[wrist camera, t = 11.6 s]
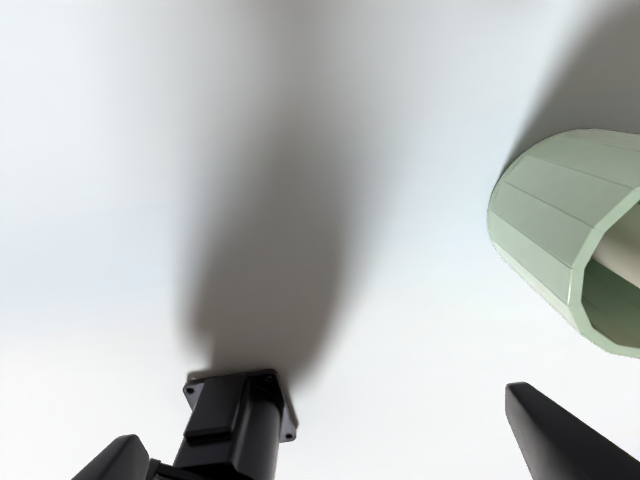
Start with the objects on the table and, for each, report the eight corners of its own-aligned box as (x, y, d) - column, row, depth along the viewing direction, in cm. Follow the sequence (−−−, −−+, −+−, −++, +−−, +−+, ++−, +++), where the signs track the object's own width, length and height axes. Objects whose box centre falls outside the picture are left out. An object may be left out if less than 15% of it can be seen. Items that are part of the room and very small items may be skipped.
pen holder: (631, 260, 20) (779, 342, 13) (487, 283, 21) (561, 372, 14) (656, 113, 17) (863, 128, 10) (485, 146, 17) (578, 180, 11)
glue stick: (596, 231, 19) (773, 323, 11) (537, 240, 19) (673, 337, 12) (602, 176, 17) (804, 239, 10) (540, 187, 18) (693, 257, 10)
